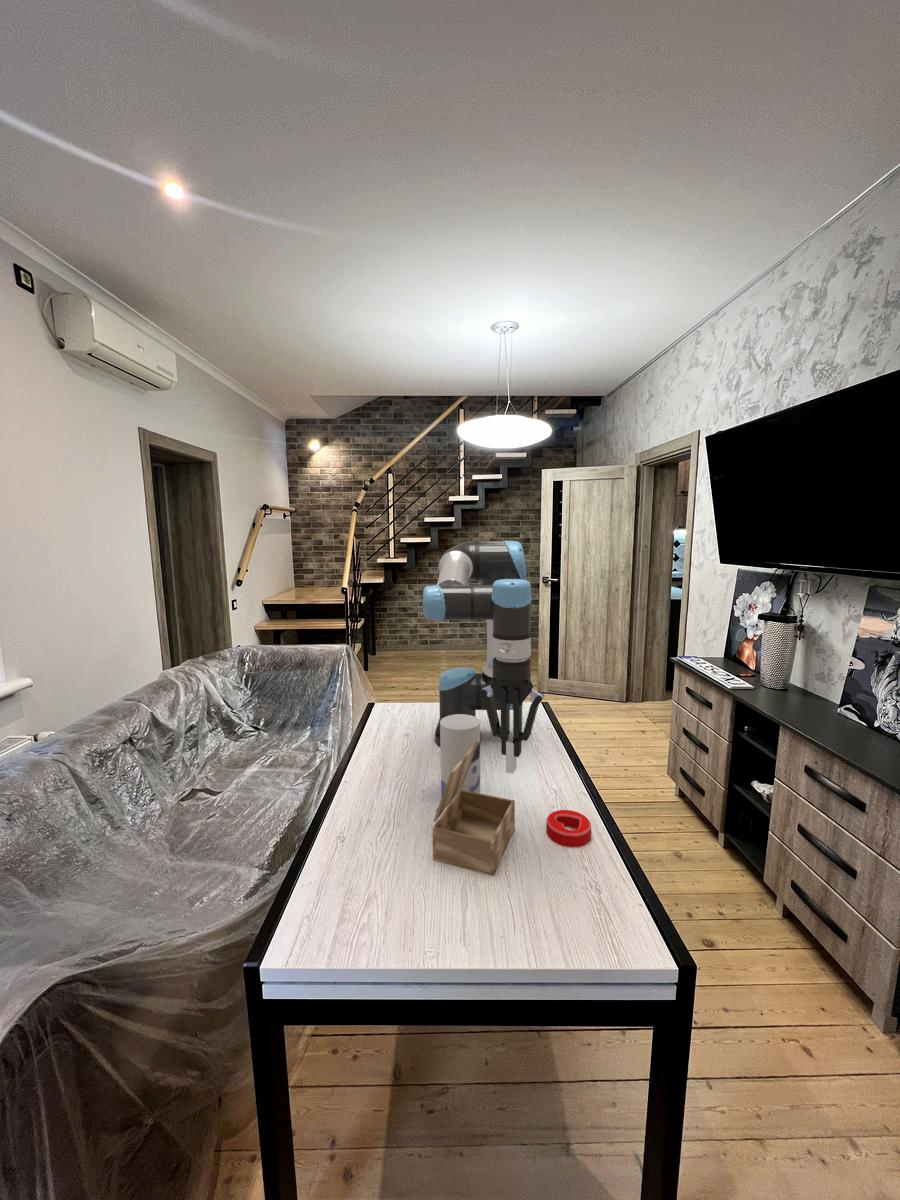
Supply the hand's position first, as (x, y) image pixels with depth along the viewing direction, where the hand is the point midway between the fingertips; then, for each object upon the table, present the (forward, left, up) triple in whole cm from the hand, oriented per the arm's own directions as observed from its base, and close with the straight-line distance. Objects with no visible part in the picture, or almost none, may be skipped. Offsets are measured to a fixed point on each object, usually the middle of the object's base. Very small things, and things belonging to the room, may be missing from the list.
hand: (511, 769), depth 99 cm
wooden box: (0, -8, -18) cm, 20 cm away
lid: (0, -12, -4) cm, 13 cm away
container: (-17, -18, -19) cm, 31 cm away
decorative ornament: (-11, +10, -19) cm, 24 cm away
